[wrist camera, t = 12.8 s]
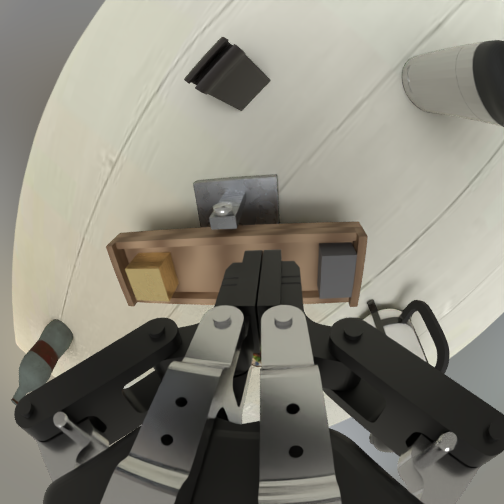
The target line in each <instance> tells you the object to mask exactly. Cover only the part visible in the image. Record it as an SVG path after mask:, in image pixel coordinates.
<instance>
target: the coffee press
mask: <svg viewBox="0 0 504 504" xmlns="http://www.w3.org/2000/svg"><path fill="white" fill-rule="evenodd" d="M367 304H368V306H369V309H370V312H371V314H370V315H369V316H367V317H366V318H365V319H363V320H364V321H366V322H367V323H369V324H370V325H372V326H373V327H375V328H376V329H378V330H379V331H381V332H382V333H384V334H385V335H387V336H388V337H390V338H391V339H393V340H394V341H396V342H397V343H399V344H400V345H402V346H403V347H405V348H406V349H408V350H409V351H411V352H412V353H414V354H415V355H417V356H418V357H420V358H421V359H423V360H424V361H426V362H427V363H428V361H427V358H426V356H425V353H424V351H423V348H422V346H421V343H420V341H419V339H418V336H417V334H416V332H415V329H414V327H413V325H412V323H411V317H412V314H413V313H414V312H415V311H419V313H420V314H421V316H422V318H423V320H424V322H425V324H426V326H427V328H428V330H429V332H430V335H431V337H432V339H433V341H434V343H435V346H436V349H437V363H436V366H435V368H436V369H437V370H439V371H440V372H442V373H443V374H444V373H445V372H446V369H447V367H448V363H449V347H448V343H447V340H446V337H445V335H444V333H443V331H442V329H441V327H440V325H439V323H438V321H437V319H436V317H435V315H434V314H433V312H432V310H431V309H430V307H429V306H428V305H427V304H426V303H425V302H423V301H419V300H414V301H412V302H411V303H409V305H408V306H407V307H406V308H405V309H404V311H403V312H401V311H399V310H396V309H383V310H379V311H377V308H376V305H375V303H374V300H372V301H370V302H367ZM409 319H410V321H409ZM369 439H370V443H371V444H373V445H374V446H375V448H376V449H378V450H379V451H382V452H393V451H392V450H391V449H390V448H388V447H387V446H386V445H385V444H383V443H382V442H381V441H380V440H379V439H377V438H376V437H375V436H374V435H373V434H371V433H370V437H369Z"/></svg>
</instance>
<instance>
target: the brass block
mask: <svg viewBox="0 0 504 504" xmlns="http://www.w3.org/2000/svg"><path fill="white" fill-rule="evenodd" d="M125 271H126V273H127V276H128V279H129V281H130V284H131V287H132V289H133V292H134V294H135V297H136V299H137V300H143V301H167V302H170V300H171V298H172V296H173V294H174V292H175V290H176V288H177V286H178V284H179V282H178V279H177V275H176V272H175V268H174V264H173V261H172V257H171V253H170V252H155V253H138V254H137V255H136V256H135V257H134V259H133V260H132V261H131V262H130V263H129V265H128V266H127V267H126V268H125Z"/></svg>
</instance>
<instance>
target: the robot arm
mask: <svg viewBox="0 0 504 504" xmlns="http://www.w3.org/2000/svg"><path fill="white" fill-rule="evenodd" d="M402 81H403V86H404V89H405V91H406V93H407V95H408V97H409V98H410V100H411V101H412V102H413V103H414V104H415V105H416V106H417V107H419V108H420V109H422V110H424V111H426V112H431V113H438V114H444V115H451V116H456V117H462V118H467V119H472V120H477V121H482V122H486V123H491V124H495V125H499V126H503V127H504V41H500V40H494V41H486V42H479V43H473V44H468V45H462V46H457V47H452V48H448V49H443V50H439V51H435V52H431V53H426V54H423V55H419V56H416V57H413V58H411V59H409V60H408V61H407V62H406V64H405V66H404V68H403V72H402ZM260 350H261V362H262V366H261V369H260V421H257V422H252V423H246V424H242V412H243V407H244V403H245V398H246V394H247V389H248V385H249V380H250V376H251V371H252V367H251V364H252V358H253V353H260ZM152 367H153V368H154V369H155V371H153V372H152V373H150V374H149V375H147V376H146V377H144V378H143V379H141V380H140V381H138V382H137V383H135V384H134V385H132V386H131V387H129V388H126V389H123V388H124V386H125V385H126V384H128V383H129V382H131V381H132V380H134V379H136V378H137V377H139V376H140V375H142V374H143V373H145V372H146V371H148V370H149V369H151V368H152ZM323 391H324V392H325V393H326V394H327V395H328V396H329V397H330V398H331V399H332V400H333V401H334V402H335V403H337V404H338V405H339V406H340V407H341V408H342V409H343V410H345V411H346V412H347V413H348V414H349V415H350V416H351V417H353V418H354V419H355V420H356V421H357V422H358V423H360V424H361V425H362V426H363V427H364V428H365V429H367V430H368V431H369V432H370V433H371V434H373V435H374V436H375V437H376V438H377V439H379V440H380V441H381V442H382V443H383V444H385V445H386V446H387V447H388V448H390V449H391V450H392V451H393V452H395V453H396V454H397V455H399V456H400V458H399V461H398V466H397V469H398V473H399V476H400V477H401V478H402V480H403V481H404V482H405V483H406V485H407V488H408V490H407V489H406V488H405V487H403V486H402V485H401V484H400V483H399V482H397V481H396V480H395V479H394V478H392V476H390V475H389V474H388V473H387V472H386V471H385V470H384V469H383V468H382V467H380V466H379V465H378V464H377V463H376V462H375V461H374V460H373V459H372V458H371V457H369V456H368V455H367V454H366V453H365V452H364V451H363V450H362V449H361V448H360V447H359V446H358V445H357V444H356V443H355V442H353V441H352V440H351V439H350V438H348V437H346V436H345V435H343V434H341V433H340V432H338V431H335V430H333V429H330V428H329V426H328V420H327V413H326V407H325V401H324V395H323ZM15 420H16V423H17V424H18V425H19V426H20V427H21V428H22V429H24V430H25V431H26V432H27V433H28V434H30V435H31V436H32V437H33V438H34V439H35V440H36V441H37V443H38V446H39V449H40V452H41V455H42V457H43V460H44V463H45V465H46V467H47V470H48V472H49V475H50V477H51V479H52V481H53V482H52V484H50V485H49V487H48V488H47V490H46V492H45V495H44V500H43V504H455V503H456V502H457V501H458V499H459V498H460V497H461V495H462V494H463V492H464V491H465V489H466V488H467V486H468V485H469V484H470V482H471V480H472V479H473V477H474V476H475V474H476V473H477V471H478V469H479V468H480V467H481V466H482V465H483V464H485V463H486V462H488V461H490V460H491V459H492V458H494V457H496V456H497V455H498V454H500V453H501V452H502V451H503V450H504V415H503V414H502V413H501V412H499V411H498V410H496V409H495V408H493V407H492V406H490V405H489V404H487V403H486V402H484V401H483V400H482V399H480V398H479V397H477V396H476V395H474V394H473V393H471V392H470V391H468V390H467V389H465V388H464V387H462V386H461V385H460V384H458V383H456V382H455V381H454V380H452V379H451V378H449V377H448V376H446V375H445V374H443V373H442V372H440V371H439V370H437V369H436V368H434V367H433V366H431V365H430V364H429V363H427V362H426V361H424V360H423V359H421V358H420V357H418V356H417V355H415V354H414V353H412V352H411V351H409V350H408V349H406V348H405V347H403V346H402V345H400V344H399V343H397V342H396V341H394V340H393V339H391V338H390V337H388V336H387V335H385V334H384V333H382V332H381V331H379V330H378V329H376V328H375V327H373V326H372V325H370V324H369V323H367V322H366V321H364V320H362V319H358V318H344V319H341V320H339V321H337V322H336V323H334V324H333V326H332V327H331V326H326V325H321V324H318V323H315V322H313V321H312V320H310V319H309V318H308V317H307V316H306V314H305V312H304V309H303V297H302V285H301V275H300V267H299V266H298V265H297V264H296V262H295V261H282V257H281V249H276V250H264V251H263V250H248V251H245V252H244V257H243V261H242V262H237V263H232V264H231V265H230V266H229V267H228V268H227V269H226V271H225V274H224V277H223V280H222V283H221V287H220V290H219V293H218V296H217V300H216V303H215V306H214V308H212V309H210V310H208V311H207V312H206V313H205V314H204V315H203V317H202V319H201V321H200V323H198V324H195V325H191V326H186V327H181V328H178V327H177V325H176V323H175V322H174V321H173V320H171V319H168V318H156V319H153V320H150V321H148V322H147V323H145V324H143V325H142V326H140V327H139V328H137V329H135V330H134V331H132V332H130V333H129V334H127V335H125V336H124V337H122V338H120V339H119V340H117V341H115V342H114V343H112V344H111V345H109V346H107V347H106V348H104V349H102V350H101V351H99V352H97V353H96V354H94V355H92V356H91V357H89V358H87V359H86V360H84V361H82V362H81V363H79V364H77V365H76V366H74V367H72V368H71V369H69V370H67V371H66V372H64V373H62V374H61V375H59V376H57V377H56V378H54V379H52V380H51V381H49V382H47V383H46V384H44V385H42V386H41V387H39V388H37V389H36V390H34V391H32V392H31V393H29V394H27V395H26V396H24V397H23V398H22V399H20V401H19V402H18V404H17V406H16V408H15ZM140 425H141V426H140ZM137 427H138V428H137ZM134 429H135V430H134ZM131 431H132V432H131ZM128 433H129V434H128ZM127 434H128V435H127ZM125 435H126V436H125ZM123 436H125V437H123ZM122 437H123V438H122ZM120 438H122V439H120ZM119 439H120V440H119ZM117 440H119V441H117ZM115 441H117V442H116V443H114V442H115ZM112 443H114V444H113V445H112V446H110V447H109V445H111V444H112Z"/></svg>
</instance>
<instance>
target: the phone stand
mask: <svg viewBox="0 0 504 504" xmlns="http://www.w3.org/2000/svg"><path fill="white" fill-rule="evenodd" d="M228 41H229V40H228V39H226V38H224V37H221V38H220V39H219V40H218V41H217V43H216V44H215V45H214V46H213V47H212V48H211V49H210V50H209V51H208V52H207V53H206V54H205V55H204V57H203V58H202V59H201V60H200V61H199V62H198V63H197V64H196V66H195V67H194V68H193V69H192V70H191V71H190V73H189V74H188V75H187V76H186V77H185V79H184V80H185V81H186V82H187V83H189V84H190V83H191V82H192V83H194V84H196V85H197V86H196V87H195V88H196V89H197V90H199V91H200V92H202V93H204V94H209V95H211V96H213V97H215V98H217V99H219V100H221V101H223V102H225V103H227V104H229V105H231V106H233V107H235V108H237V109H239V110H241V111H242V110H243V109H244V107H245V106H246V105H247V104H248V103H249V102H250V101H251V100H252V99H253V98H254V97H255V96H256V95H257V94H258V93H259V92H260V91H261V90H262V89H263V87H264V86H265V85H266V84H267V83H268V82H269V81H270V79H269V78H268V77H267V76H266V75H265V74H264V73H263V72H262V71H261V70H260V69H259V68H258V67H257V66H256V65H255V64H254V63H253V62H252V61H251V60H250V59H249V58H248V57H247V56H246V55H245V52H244V51H243V50H241V49H240V48H239V47H238V46H237V45H235V44H234V45H231V44H230V43H229V42H228Z"/></svg>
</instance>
